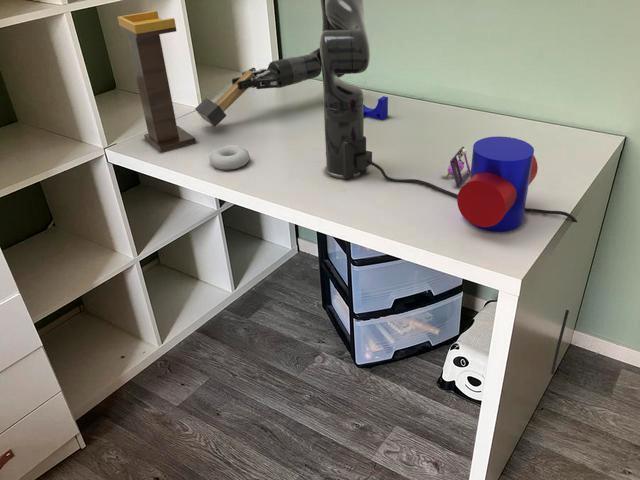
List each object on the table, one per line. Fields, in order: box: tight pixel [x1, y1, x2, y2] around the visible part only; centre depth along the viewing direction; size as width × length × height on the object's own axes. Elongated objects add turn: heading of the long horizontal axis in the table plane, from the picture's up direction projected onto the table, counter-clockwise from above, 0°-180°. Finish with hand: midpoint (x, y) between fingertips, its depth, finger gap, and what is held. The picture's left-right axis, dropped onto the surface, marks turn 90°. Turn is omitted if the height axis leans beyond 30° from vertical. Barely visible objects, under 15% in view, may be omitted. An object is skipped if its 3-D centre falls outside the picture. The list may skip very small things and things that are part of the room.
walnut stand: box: [118, 24, 197, 153], centre depth 161 cm, size 11×10×30 cm
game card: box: [444, 146, 471, 188], centre depth 148 cm, size 7×5×9 cm
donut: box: [208, 144, 251, 171], centre depth 157 cm, size 10×4×10 cm
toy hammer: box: [194, 69, 256, 127], centre depth 174 cm, size 8×18×4 cm
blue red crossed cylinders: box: [456, 135, 539, 233], centre depth 129 cm, size 20×12×16 cm, turn 149°
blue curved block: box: [364, 95, 389, 121], centre depth 182 cm, size 12×4×6 cm, turn 57°
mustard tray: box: [117, 10, 177, 34], centre depth 152 cm, size 11×10×2 cm
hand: (235, 84), depth 174 cm, fingers closed on toy hammer, 2 cm apart
